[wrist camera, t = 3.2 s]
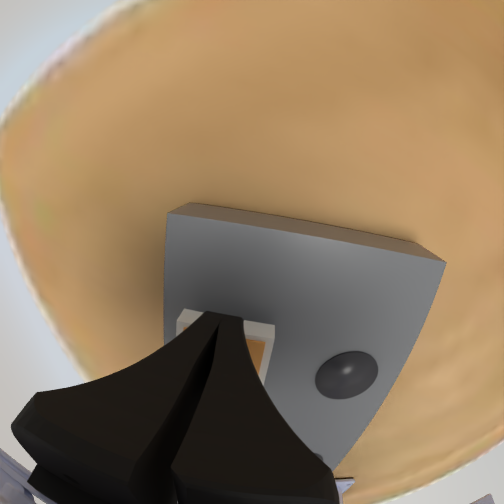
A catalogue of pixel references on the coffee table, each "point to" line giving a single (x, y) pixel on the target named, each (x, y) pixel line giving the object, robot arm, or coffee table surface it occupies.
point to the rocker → (255, 334)
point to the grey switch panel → (306, 309)
